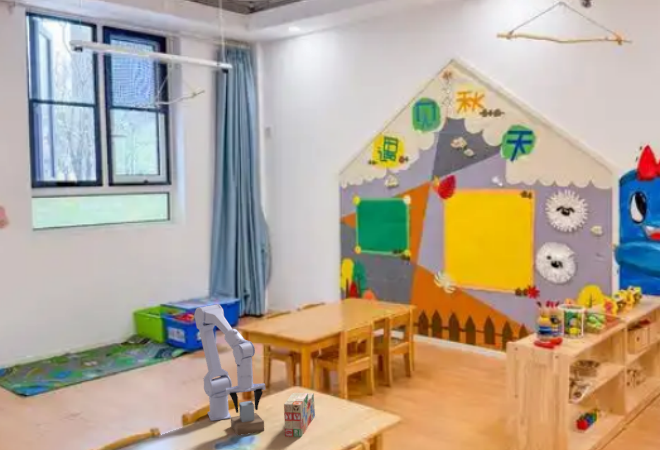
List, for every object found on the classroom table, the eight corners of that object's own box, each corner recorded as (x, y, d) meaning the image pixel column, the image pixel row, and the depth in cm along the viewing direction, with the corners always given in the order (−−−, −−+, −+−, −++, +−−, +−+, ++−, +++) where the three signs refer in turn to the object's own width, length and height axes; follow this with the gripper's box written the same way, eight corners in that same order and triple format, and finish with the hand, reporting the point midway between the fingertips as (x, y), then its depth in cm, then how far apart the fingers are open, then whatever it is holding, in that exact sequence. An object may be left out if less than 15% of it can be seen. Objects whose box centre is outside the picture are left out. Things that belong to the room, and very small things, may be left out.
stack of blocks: (299, 415, 265) (298, 384, 264) (315, 416, 263) (313, 385, 262) (285, 436, 244) (283, 403, 243) (301, 437, 243) (300, 404, 242)
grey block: (239, 418, 254) (239, 402, 253) (251, 416, 255) (251, 400, 255) (242, 422, 249) (241, 406, 249) (254, 420, 251) (253, 404, 250)
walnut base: (231, 427, 255) (230, 417, 255) (256, 422, 259) (256, 412, 259) (238, 436, 246) (237, 426, 246) (264, 431, 250) (263, 421, 250)
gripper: (227, 380, 245) (229, 416, 246) (266, 375, 249) (268, 411, 251) (224, 375, 252) (226, 410, 253) (262, 370, 256) (264, 405, 257)
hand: (246, 410), depth 252 cm, fingers open, 7 cm apart
